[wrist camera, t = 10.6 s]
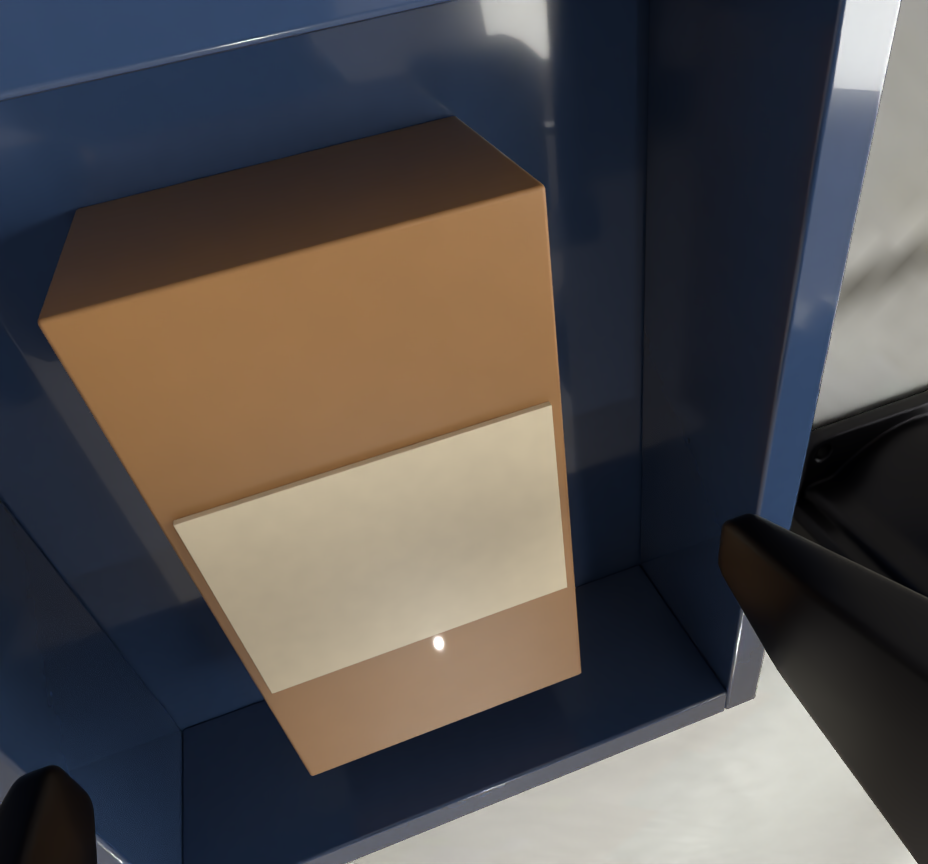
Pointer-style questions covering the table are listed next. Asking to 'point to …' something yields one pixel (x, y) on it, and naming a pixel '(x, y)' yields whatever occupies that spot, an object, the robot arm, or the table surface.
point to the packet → (343, 422)
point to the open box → (579, 360)
